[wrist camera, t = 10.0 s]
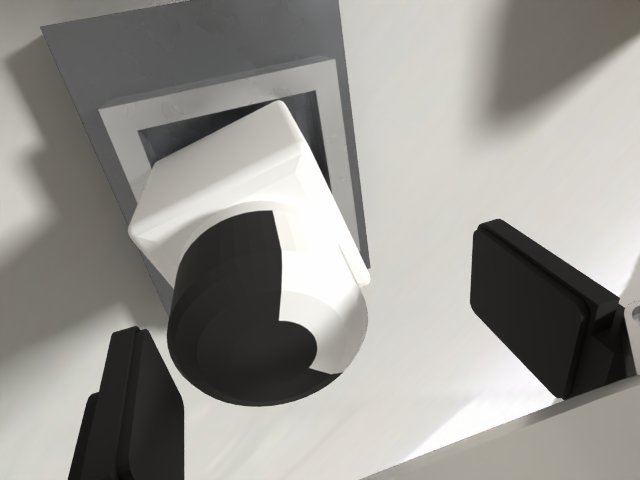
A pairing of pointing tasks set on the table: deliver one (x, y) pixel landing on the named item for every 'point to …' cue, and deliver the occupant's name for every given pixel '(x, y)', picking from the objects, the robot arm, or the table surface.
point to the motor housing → (209, 88)
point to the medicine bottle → (253, 263)
